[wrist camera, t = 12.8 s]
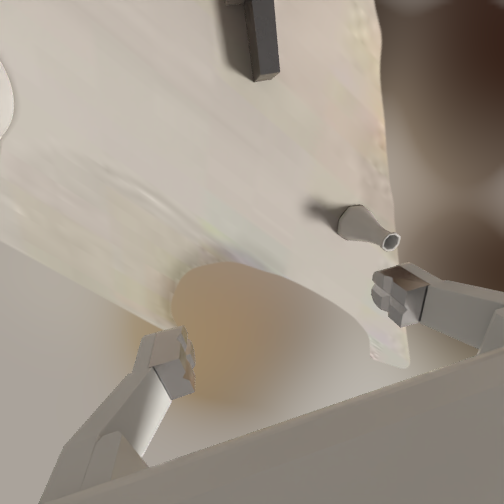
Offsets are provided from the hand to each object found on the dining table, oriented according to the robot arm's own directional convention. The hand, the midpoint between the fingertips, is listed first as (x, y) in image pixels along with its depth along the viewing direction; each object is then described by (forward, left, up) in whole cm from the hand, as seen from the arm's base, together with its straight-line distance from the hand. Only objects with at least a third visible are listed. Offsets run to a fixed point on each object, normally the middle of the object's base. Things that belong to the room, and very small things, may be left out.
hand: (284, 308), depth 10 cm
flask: (+24, -12, -31) cm, 41 cm away
